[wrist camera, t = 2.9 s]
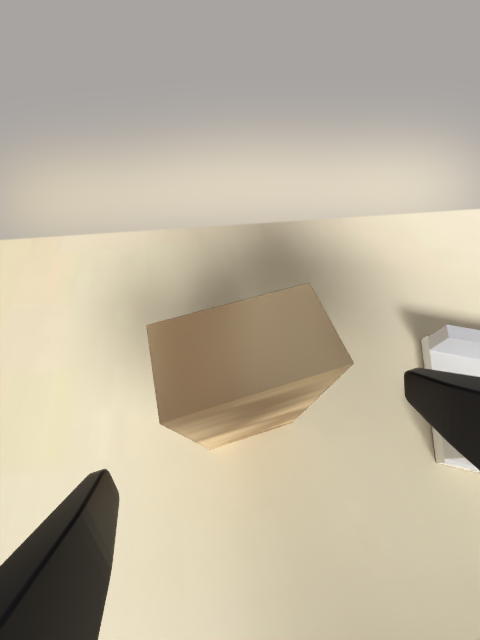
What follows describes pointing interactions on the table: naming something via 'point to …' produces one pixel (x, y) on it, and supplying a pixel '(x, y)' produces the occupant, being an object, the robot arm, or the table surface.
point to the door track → (456, 357)
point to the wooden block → (244, 365)
